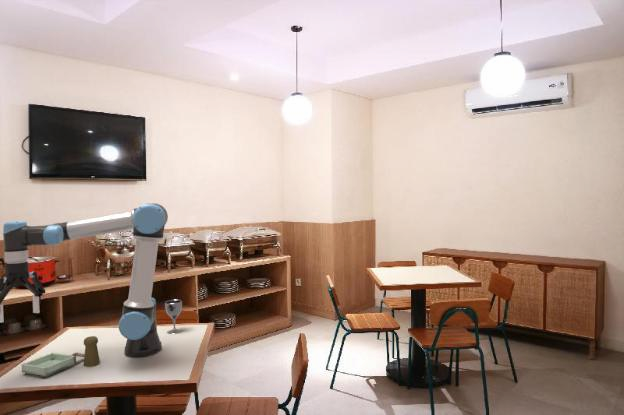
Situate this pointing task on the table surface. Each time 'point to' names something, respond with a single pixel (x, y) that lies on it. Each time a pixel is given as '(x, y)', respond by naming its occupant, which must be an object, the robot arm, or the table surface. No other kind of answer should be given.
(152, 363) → the table surface
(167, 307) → the wine glass
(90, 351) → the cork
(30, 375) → the rails
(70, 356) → the shallow green tray
